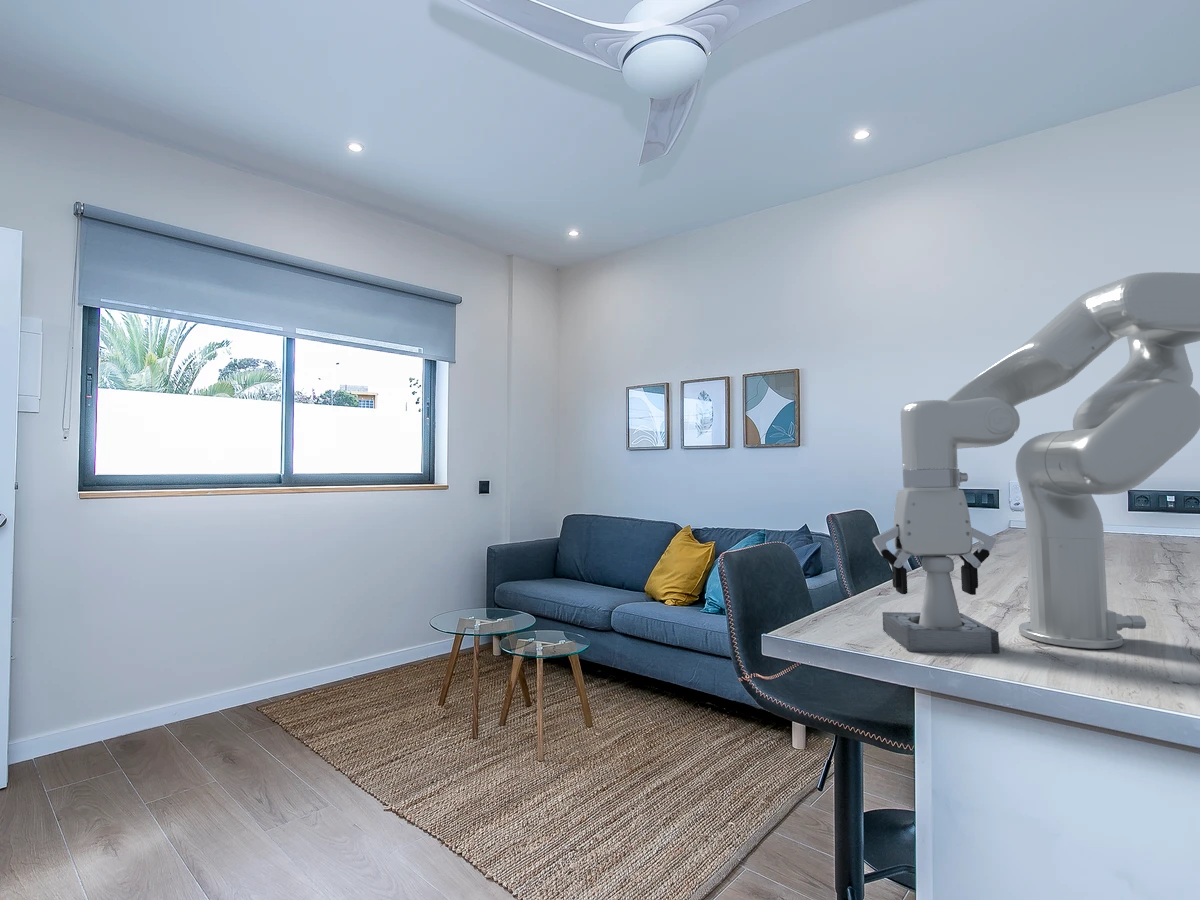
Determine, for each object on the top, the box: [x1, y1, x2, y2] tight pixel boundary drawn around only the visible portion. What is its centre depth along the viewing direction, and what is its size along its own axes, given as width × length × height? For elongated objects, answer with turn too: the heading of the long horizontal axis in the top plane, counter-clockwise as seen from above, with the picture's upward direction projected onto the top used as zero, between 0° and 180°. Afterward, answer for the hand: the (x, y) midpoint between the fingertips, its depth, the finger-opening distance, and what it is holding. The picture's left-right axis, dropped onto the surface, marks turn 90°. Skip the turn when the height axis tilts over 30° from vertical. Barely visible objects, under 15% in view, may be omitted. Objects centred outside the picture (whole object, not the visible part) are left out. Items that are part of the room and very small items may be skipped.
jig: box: [882, 611, 1000, 654], centre depth 93 cm, size 12×12×3 cm
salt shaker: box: [919, 556, 963, 628], centre depth 93 cm, size 6×6×13 cm
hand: (935, 592), depth 94 cm, fingers open, 9 cm apart
